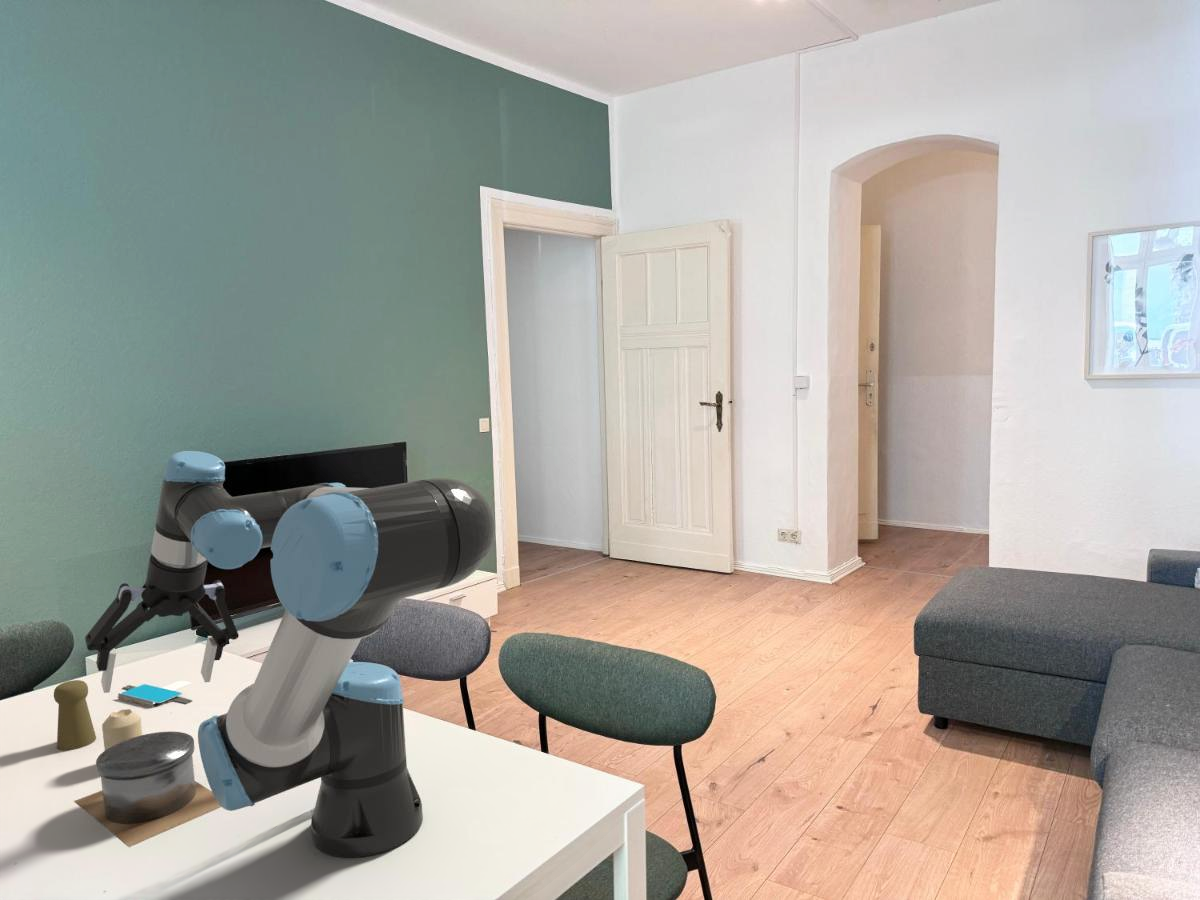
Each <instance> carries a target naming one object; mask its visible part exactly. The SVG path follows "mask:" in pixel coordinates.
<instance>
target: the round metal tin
mask: <svg viewBox="0 0 1200 900" xmlns="http://www.w3.org/2000/svg"><path fill="white" fill-rule="evenodd" d="M194 739H195V738H193V736H192V735H190V734H188V733H186V732H181V731H159V732H151V733H145V734H142V735H141V736H137V737H134V738H131V739H128V740H125V741H122V742H120V743H118V744H115V745H113V746H112V747H110V748H108V749H107V750H105V749H104V750H103V751H102V752H101V753H100V754H99V755H98V756H97V758H96V760H95V766H96V773H97V775H99V776H100V782H101V791H102V792H103V801H104V810H105V816H106V818H107V819H108V820H109V821H111V822H114V823H118V824H136V823H143V822H148V821H152V820H156V819H159V818H162V817H165V816H168V815H170V814H172V813H174V812H176V811H178V810H180V809H182V808H183V807H185V806H186V805H187V804H188V803H190V802H191V801H192V799H193V798H194V796H195V794H196V789H195V781H196V780H195V771H194V770H195V769H194V760H193V754H194V752H195V740H194Z"/></svg>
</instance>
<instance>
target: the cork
mask: <svg viewBox="0 0 1200 900" xmlns="http://www.w3.org/2000/svg"><path fill="white" fill-rule="evenodd" d="M88 695H89V685H88V683H86V682H85V681H84V680H81V679H77V680H76V679H74V680H69V681H65V682H63V683H60V684H59V685H57V686H56V687H55V688H54V690H53V699H54V701H55V702H56V703H57V704H58V709H57V710H58V713H57V736H56V738H57V739H56V749H57V750H59V751H72V750H73V751H74V750H77V749H81V748H85V747H87V746H89V745H91V744H93V743H94V742H96V740H97V736H96V732H95V728H94V725H93V721H92V717H91V714H90V710H89V706H88V703H87V699H86V698H87V696H88Z"/></svg>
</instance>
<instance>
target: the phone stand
mask: <svg viewBox="0 0 1200 900" xmlns="http://www.w3.org/2000/svg"><path fill="white" fill-rule="evenodd" d="M192 684H193V682H190V681H184V680H178V681H175V682H173V683H171V684H168V685H165V686H163V687H159V686H154V685H151V684H141V685H138V686H134V685H126V686H123V687H122V689H125V691H122V692H121V693H119V692H118V693H117V694H118V695H117V697H118V700H122V701H127V702H130V703H133V704H137V705H142V706H146V707H149V708H154V705H155V704H158V705H156V706H155V707H156V708H158V707H159V706H162V705H164V704H166V703H167V704H168V703H172V702H176V703H179V702H180V703H184V704H187V703H190V702H192V701H193V699H190V698H186V697H183V696H181V695H182V694H183V692H181V691H179V690H181V689H184V688H186V687H189V686H191V685H192Z"/></svg>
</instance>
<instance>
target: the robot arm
mask: <svg viewBox="0 0 1200 900" xmlns="http://www.w3.org/2000/svg"><path fill="white" fill-rule="evenodd" d="M225 474H226V465H225V462H224V461H223V460H222V459H221V458H219V456H216V455H214V454H211V453H208V452H205V451H197V450H183V451H178V452H175V453H173V454H171V456H169V458H168V459H167V461H166V465H165V469H164V473H163V476H162V478H161V480H162V483H161V491H160V495H159V502H158V507H157V513H156V515H157V516H156V520H155V521H156V522H155V527H154V534H153V539H152V544H151V548H150V551H151V552H150V553H151V555H150V556H149V561H148V568H147V571H146V572H147V573H146V579H145V583H144V584H143V585H142V586H141V587H133V586H130V585H129V583H122V584H120V585H119V586H118V587H119V588H118V591H117V593H116V597H115V598H114V600H113V601H112V602H111V603H110V605H108V607H107V608H106V610H105V611H104V612H103V614H102V615H101V616H100V618H98V620H97V621H96V622H95V624H94V625H93V626H92V628H91V629H90V630H89V632H88V633H87V634H86V635H85V637H84V641H85V643H86V644H85V645H86V649H87V650H88V651H89V652H90V651H91V652H92V651H97V655H96V661H95V663H96V667H97V671H98V672H102V674H101V681H100V683H101V687H102V692H103V693H104V694H107V693H110V692H111V688H112V681H113V675H114V669H115V665H116V664H115V662H116V657H117V652H116V649H115V648H116V647H117V646H118V645H120V644H121V643H122V642H124V640H125V639H126V638H128V637H129V636H130V635H131V634H132V633H134V632H135V630H136V631H137V629H138V628H140V627H141V626H142V625H143V624H145V623H147V622H149V621H151V620H152V619H153V618H154V617H156V616H158V617H159V618H163V617H170V616H176V617H179V616H180V617H181V616H182V617H183V615H184V614H186V613H188V614H190V615H191V617H192V618H193V619H194V620H196V621H197V622H198V623H199V624H200V626H202V628H204V630H205V631H206V632H207V633H208V634H209V635H207V637H206V644H205V648H204V649H205V650H204V653H203V659H202V664H201V670H200V674H201V676H202V678H203V681H204V683H210V682H211V678H212V674H213V668H214V664H215V662H216V661H220V660H221V659H222V654H223V650H224V647H226V646H227V644H228V642H227V641H229V640H232V641H234V640H237V639H238V638H239V637H240V636H239V633H238V632H239V631H238V630H237V627H236V625H235V622H234V620H233V617H232V615H231V613H230V610H229V608H228V606H227V602H226V599H225V598H226V589H225V587H224V584H223V583H222V581H221V580H220V579H216V580H214V581H213V583H212V584H205V583H204V582H205V579H206V574H207V573H206V572H207V568H208V567H207V566H208V563H209V564H210V565H212V566H213V567H216V568H218V569H222V570H234V569H237V568H238V569H239V568H242V567H243V565H245V564H247V563H248V562H250V561H253V560H254V558H255V557H256V556H257V555H258V553H259V552H260V550H261V549H265V548H270V551H271V552H272V554H273V555H272V558H271V559H270V561H269V562H270V575H271V580H272V584H273V588H274V591H275V594H276V595H277V597H278V599H279V602H280V603H281V605H282V607H283V608H284V609H285V611H284V612H283V616H282V617H281V620H280V623H279V625H278V627H277V630H276V632H275V634H274V637H273V639H272V641H271V644H270V646H269V648H268V651H267V653H266V655H265V657H264V660H263V662H262V663H261V665H260V666H261V667H260V668H259V671H258V674H257V676H256V678H255V680H254V683H252V684H250V685H249V686H247V687H245V688H244V689H242V690H241V691H240V692H239V694H237V695H236V696H235V698H234V699H233V701H232V702H231V703H230V706H229V707H228V710H227V712H226V713H224V714H221V715H220V714H219V715H212V717H211V718H208V719H205V720H204V721H202V722H201V723H200V725H199V726H198V730H197V741H198V742H197V743H198V748H199V753H200V754H199V755H200V758H201V763H202V766H203V767H202V768H203V770H204V773H205V776H206V779H207V783H208V784H209V788H210V791H212V792H213V795H214V797H215V798H216V800H217V802H218V803H219V805H220V806H221V807H220V808H222V809H223V810H226V811H230V812H231V811H237V810H240V809H243V808H246V807H248V808H249V807H254V806H255V805H256V803H259V802H262V801H264V800H266V799H270V798H271V797H273V796H277V795H280V794H282V793H285V792H287V791H290V790H292V789H294V788H297V787H299V786H302V785H305V784H308V783H310V782H312V781H315V780H317V779H320V786H319V789H318V793H317V798H316V801H315V806H314V810H313V811H314V812H313V814H312V817H311V822H310V823H311V824H310V829H311V837H312V839H311V840H312V843H313V844H314V846H315V847H316V849H318V850H319V851H321V852H323V853H324V854H328V855H331V856H335V857H339V858H340V857H342V858H358V857H360V858H361V857H366V856H372V855H376V854H380V853H383V852H386V851H389V850H392V849H394V848H396V847H398V846H400V845H402V844H404V843H406V842H407V841H408V840H410V839H411V838H412V837H413V836H415V835H416V833H418V831H419V830H420V828H421V827H422V824H423V821H424V820H423V819H424V818H423V817H424V815H423V803H422V799H421V797H420V795H419V792H418V790H417V787H416V786H415V783H414V780H413V778H412V776H411V774H410V772H409V769H408V764H407V763H408V762H407V749H406V748H407V746H406V733H405V719H404V718H405V717H404V702H405V700H404V699H405V698H404V696H403V689H402V684H401V679H400V676H399V674H398V673H397V672H396V671H395V669H393V668H391V667H390V666H387V665H384V664H379V663H376V662H375V663H374V662H365V661H351V659H352V657H353V655H354V653H355V652H356V649H357V647H358V646H359V644H360V642H361V641H362V639H365V638H368V637H370V636H371V635H374V634H376V633H377V632H378V631H379V630H381V629H382V628H383V627H384V626H385V624H386V623H387V622H388V621H389V619H390V617H391V616H392V613H393V612H394V611H395V608H396V607H397V606H398V603H399V602H400V601H402V600H403V599H406V598H409V597H414V596H417V595H421V594H425V593H428V592H432V591H436V590H440V589H443V588H447V587H451V586H453V585H456V584H458V583H460V582H462V581H464V580H466V579H467V578H468V577H469V576H471V575H473V574H474V573H475V572H476V571H477V570H478V569H479V568H480V567H481V566H482V564H484V562H485V561H486V559H487V557H488V555H489V554H490V551H491V549H492V546H493V543H494V537H495V520H494V515H493V512H492V509H491V507H490V506H489V502H487V499H486V498H485V497H484V496H483V495H482V493H481V492H480V491H478V490H477V489H476V488H474V487H472V486H471V485H470V484H469V483H466V482H464V481H463V482H462V481H460V480H456V479H451V478H450V479H449V478H425V479H421V480H416V481H408V482H401V483H396V484H390V485H384V486H377V487H372V488H371V487H369V488H368V487H347V485H345V484H343V483H341V482H329V483H328V482H323V483H315V484H313V485H307V486H300V487H294V488H287V489H281V490H275V491H274V490H273V491H267V492H258V493H257V492H256V493H251V494H245V495H237V496H232V495H231V494H229V492H228V491H227V490H226V489H225V488H224V486H223V485H224V482H225V481H226V477H225V476H226V475H225ZM206 595H208V597H209V599H211V600H212V601H214V602H215V605H216V608H217V609H218V612H219V615H220V616H221V619H222V622H223V624H224V627H225V628H223V629H221V627H219V625H218V624H217V623H216V622H215V621H214V620H213V619H212V618H211V616H209V614H208V613H207V612H206V611H205V609H204V608H203V607H202V606H201V605H200V604H199V602H200V601H201V600H202V598H204V596H206ZM138 598H141V599H142V601H140V602H139V603H138V604H137V606H136V607H135V609H133V610H132V611H131V612H130V613H128V614H127V615H126V616H125V617H123V616H124V614H125V613H126V611H127V610H128V608H129V606H130V605H132V604H134V602H136V600H137V599H138ZM122 617H123V619H122V620H121V621H119V620H120V619H121V618H122ZM118 621H119V622H118Z"/></svg>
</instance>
